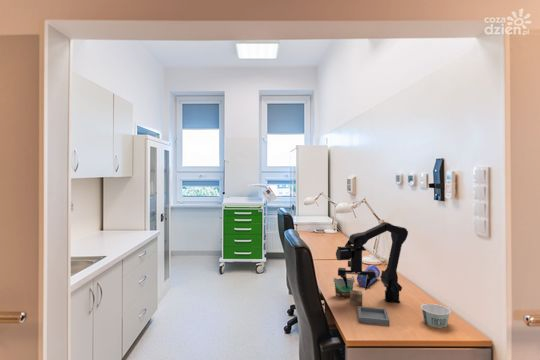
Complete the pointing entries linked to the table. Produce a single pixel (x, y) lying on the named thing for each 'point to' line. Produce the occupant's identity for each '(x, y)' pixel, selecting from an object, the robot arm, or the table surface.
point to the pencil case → (362, 278)
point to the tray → (373, 315)
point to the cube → (355, 298)
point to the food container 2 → (435, 315)
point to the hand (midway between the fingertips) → (356, 289)
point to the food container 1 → (343, 287)
